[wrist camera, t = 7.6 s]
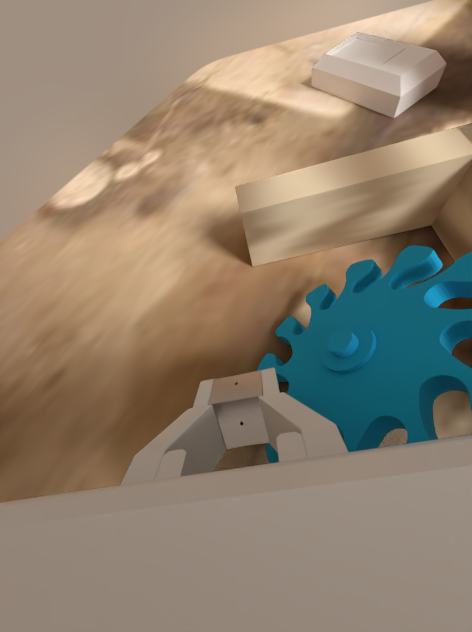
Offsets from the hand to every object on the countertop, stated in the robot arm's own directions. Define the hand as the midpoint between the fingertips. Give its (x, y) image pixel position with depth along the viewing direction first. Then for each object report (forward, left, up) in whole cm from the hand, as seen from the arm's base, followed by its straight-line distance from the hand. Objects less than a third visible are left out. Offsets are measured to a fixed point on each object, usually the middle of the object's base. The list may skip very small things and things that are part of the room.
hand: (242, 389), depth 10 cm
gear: (+4, 0, -4) cm, 6 cm away
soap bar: (+14, +24, -5) cm, 29 cm away
